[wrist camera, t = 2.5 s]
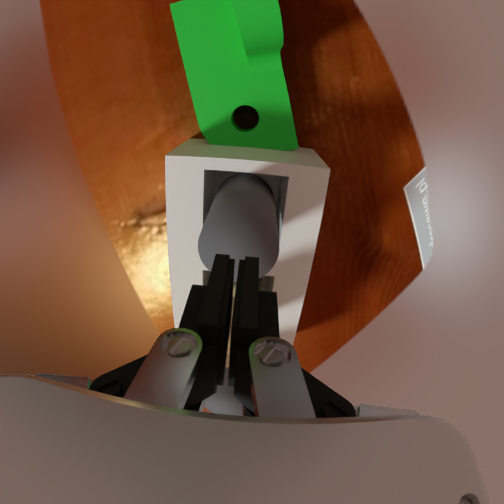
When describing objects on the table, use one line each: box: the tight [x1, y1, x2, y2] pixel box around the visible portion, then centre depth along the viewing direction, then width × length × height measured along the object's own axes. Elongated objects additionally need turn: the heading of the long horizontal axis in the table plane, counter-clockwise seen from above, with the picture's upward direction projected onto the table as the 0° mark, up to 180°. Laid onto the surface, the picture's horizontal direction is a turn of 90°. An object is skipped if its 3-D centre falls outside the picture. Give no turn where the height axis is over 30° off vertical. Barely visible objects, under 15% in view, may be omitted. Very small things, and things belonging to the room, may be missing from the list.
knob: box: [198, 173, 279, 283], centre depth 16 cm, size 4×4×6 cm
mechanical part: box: [170, 0, 299, 151], centre depth 15 cm, size 12×6×8 cm, turn 12°
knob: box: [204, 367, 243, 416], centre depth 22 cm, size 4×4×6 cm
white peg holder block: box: [165, 138, 331, 346], centre depth 23 cm, size 19×9×6 cm, turn 175°
